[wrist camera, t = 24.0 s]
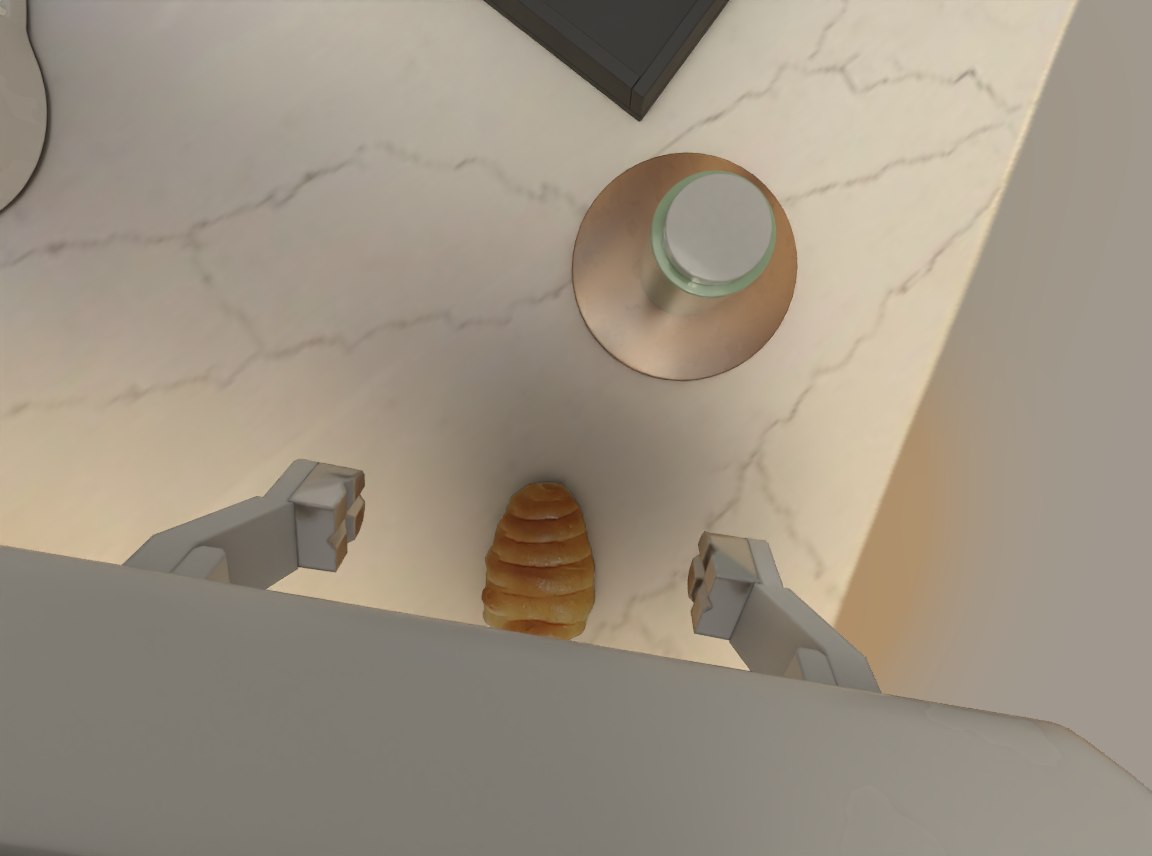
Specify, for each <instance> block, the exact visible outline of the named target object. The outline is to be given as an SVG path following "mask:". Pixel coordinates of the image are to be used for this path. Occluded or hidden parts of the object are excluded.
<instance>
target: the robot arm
mask: <svg viewBox="0 0 1152 856" xmlns="http://www.w3.org/2000/svg"><path fill="white" fill-rule="evenodd" d="M26 23H27V15H26V0H0V210H1V209H3V208H4V207H5V206H6V205H8V204H9V203H10V202H11V201H12V200H13V199H14V198H15V197H16V196H17V195H18V194H19V192H20V191H21V190H22V189H23V187H24V186H25V184H26V183H27V181H28V180H29V178H30V177H31V175H32V173H33V171H34V169H35V167H36V165H37V162H38V160H39V157H40V154H41V151H42V148H43V143H44V139H45V133H46V124H47V103H46V94H45V88H44V83H43V79H42V75H41V72H40V69H39V66H38V63H37V61H36V58H35V56H34V53H33V50H32V48H31V45H30V42H29V39H28V35H27V31H26ZM364 486H365V475H364V473H363V471H362V470H357V469H352V468H347V467H341V466H336V465H331V464H326V463H319V462H316V461H310V460H305V459H297V460H295V461H294V462H293V463H292V464H291V465H290V466H289V468H288V469H287V470H286V471H285V472H284V473H283V475H282V476H281V477H280V478H279V479H278V480H277V481H276V483H275V484H274V485H273V486H272V487H271V488H270V490H269V491H268V492H267V493H266V494H265V495H264V496H263V497H259V496H256V497H253V498H250V499H248V500H245V501H242V502H240V503H237V504H235V505H232V506H229V507H227V508H224V509H221V510H219V511H216V512H213V513H211V514H208V515H205V516H203V517H200V518H197V519H195V520H192V521H189V522H187V523H184V524H182V525H179V526H176V527H174V528H171V529H168V530H166V531H163V532H160V533H158V534H155V535H153V536H152V537H151V538H150V539H148V540H147V541H146V542H145V543H144V544H143V545H142V546H141V547H140V548H139V549H138V550H137V551H136V552H135V553H134V554H133V555H132V556H131V557H130V558H129V559H128V560H127V561H126V562H125V563H124V564H123V565H117V564H111V563H105V562H99V561H93V560H87V559H81V558H75V557H69V556H63V555H57V554H51V553H46V552H40V551H34V550H28V549H22V548H16V547H10V546H4V545H0V856H1152V791H1151V790H1150V789H1149V788H1148V787H1146V786H1145V785H1144V784H1143V783H1141V782H1140V781H1139V780H1138V779H1137V778H1135V777H1134V776H1133V775H1132V774H1131V773H1129V772H1128V771H1127V770H1125V769H1124V768H1123V767H1121V766H1120V765H1119V764H1117V763H1116V762H1115V761H1113V760H1112V759H1111V758H1109V757H1108V756H1107V755H1105V754H1104V753H1103V752H1101V751H1100V750H1099V749H1097V748H1096V747H1095V746H1093V745H1092V744H1091V743H1089V742H1088V741H1086V740H1085V739H1084V738H1082V737H1081V736H1079V735H1077V734H1076V733H1075V732H1073V731H1072V730H1070V729H1069V728H1066V727H1064V726H1061V725H1059V724H1056V723H1052V722H1049V721H1043V720H1038V719H1031V718H1026V717H1020V716H1014V715H1008V714H1002V713H996V712H990V711H984V710H978V709H972V708H966V707H960V706H954V705H948V704H942V703H936V702H930V701H924V700H918V699H912V698H906V697H900V696H893V695H888V694H882V693H881V691H880V689H879V686H878V684H877V681H876V679H875V677H874V675H873V672H872V670H871V668H870V665H869V663H868V661H867V659H866V657H864V655H863V654H862V653H860V652H859V651H858V650H857V649H856V648H855V647H854V646H853V645H852V644H850V643H849V642H848V641H847V640H846V639H845V638H844V637H843V636H841V635H840V634H839V633H838V632H837V631H836V630H835V629H834V628H833V627H831V626H830V625H829V624H828V623H827V622H826V621H825V620H824V619H823V618H821V617H820V616H819V615H818V614H817V613H816V612H815V611H814V610H813V609H811V608H810V607H809V606H808V605H807V604H806V603H805V602H804V601H802V600H801V599H800V598H799V597H798V596H797V595H796V594H795V593H794V592H792V591H791V590H790V589H787V588H784V587H783V584H782V581H781V579H780V576H779V573H778V570H777V567H776V564H775V561H774V558H773V555H772V553H771V550H770V547H769V544H768V543H767V542H766V541H764V540H758V539H751V538H740V537H734V536H728V535H722V534H717V533H711V532H705V531H704V532H703V534H702V535H701V538H700V540H699V543H698V547H699V553H700V554H699V555H697V556H696V557H694V558H693V560H692V563H691V566H690V569H689V575H688V595H689V598H690V599H691V600H692V601H693V602H694V604H693V607H692V609H691V616H692V623H693V629H694V633H695V634H700V635H705V636H710V637H715V638H720V639H725V640H730V641H729V642H730V644H731V645H732V646H733V648H734V649H735V650H736V652H737V653H738V654H739V656H740V657H741V659H742V660H743V661H744V663H745V664H746V665H747V667H748V668H749V669H750V671H746V670H740V669H734V668H728V667H722V666H716V665H711V664H705V663H699V662H693V661H687V660H681V659H675V658H669V657H663V656H657V655H651V654H645V653H639V652H633V651H627V650H621V649H615V648H609V647H603V646H598V645H592V644H586V643H580V642H574V641H568V640H562V639H556V638H550V637H544V636H538V635H532V634H526V633H520V632H514V631H508V630H503V629H497V628H491V627H485V626H479V625H473V624H467V623H461V622H455V621H449V620H443V619H437V618H431V617H425V616H419V615H414V614H408V613H402V612H396V611H390V610H384V609H378V608H372V607H366V606H360V605H354V604H348V603H342V602H336V601H331V600H325V599H319V598H313V597H307V596H301V595H295V594H289V593H283V592H277V591H271V590H265V589H267V588H268V587H270V586H272V585H273V584H275V583H276V582H278V581H279V580H281V579H283V578H284V577H286V576H287V575H289V574H290V573H292V572H294V571H295V570H297V569H298V567H302V568H309V569H316V570H323V571H330V572H336V571H337V569H338V568H339V566H340V564H341V563H342V561H343V559H344V557H345V556H346V554H347V543H349V542H351V541H353V540H355V538H356V536H357V535H358V533H359V531H360V528H361V525H362V522H363V517H364V511H365V501H364V499H363V498H362V497H361V495H360V493H361V491H362V490H363V488H364Z"/></svg>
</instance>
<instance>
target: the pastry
mask: <svg viewBox="0 0 1152 856" xmlns="http://www.w3.org/2000/svg"><path fill="white" fill-rule="evenodd" d="M485 563H486V567H487V572H486V586H485V588H484V589H483V592H482V601H483V603H484V605H485V609H484V611H483V618H484V620H485V622H486V623H487V624H488V625H489V626H490V627H491V628H497V629H503V630H508V631H514V632H520V633H526V634H532V635H538V636H544V637H550V638H556V639H562V640H570V639H572V638H573V637H575V636H578V635H580V634H581V633H582V632H583V630H584V629H585V625H586V620H587V616H588V614H589V613H590V611H591V609H592V607H593V604H594V601H595V590H594V570H595V565H594V560H593V557H592V552H591V547H590V545H589V542H588V537H587V532H586V525H585V522H584V519H583V515H582V512H581V509H580V507H579V505H578V504H577V502H576V501H575V500H574V498H573V496H572V494H571V493H570V492H569V491H568V490H567V489H566V488H565V487H564V486H563V485H561V484H557V483H551V482H544V483H533V484H529V485H527V486H526V487H524V488H523V489H521V490H520V491H519V492H517V493H516V494H514V495H513V496H512V497H511V499H510V501H509V504H508V506H507V509H506V512H505V514H504V516H503V517H502V519H501V520H500V522H499V524H498V526H497V529H496V533H495V539H494V542H493V545H492V547H491V549H490V550H489V551H488V553H487V555H486V557H485Z"/></svg>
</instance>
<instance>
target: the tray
mask: <svg viewBox="0 0 1152 856" xmlns="http://www.w3.org/2000/svg"><path fill="white" fill-rule="evenodd" d="M484 1H486V2H487V3H488V4H489V5H491V6H492V7H493V8H495V9H496V10H497V11H498V12H500V13H501V14H502V15H504V16H505V17H506V18H507V19H509V20H510V21H511V22H513V23H514V24H515V25H516V26H518V27H519V28H520V29H522V30H523V31H524V32H525V33H527V34H528V35H529V36H531V37H532V38H533V39H534V40H536V41H537V42H538V43H540V44H541V45H542V46H543V47H545V48H546V49H547V50H548V51H550V52H551V53H552V54H554V55H555V56H556V57H557V58H559V59H560V60H561V61H563V62H564V63H565V64H566V65H568V66H569V67H570V68H572V69H573V70H574V71H575V72H577V73H578V74H579V75H581V76H582V77H583V78H584V79H586V80H587V81H588V82H590V83H591V84H592V85H593V86H595V87H596V88H597V89H599V90H600V91H601V92H602V93H604V94H605V95H606V96H608V97H609V98H610V99H611V100H613V101H614V102H615V103H617V104H618V105H619V106H620V107H622V108H623V109H624V110H626V111H627V112H628V113H629V114H631V115H632V116H633V117H635V118H636V119H637V120H638V121H641V120H642V118H643V117H644V115H645V114H646V113H647V111H648V110H649V109H650V107H651V106H652V105H653V103H654V102H655V101H656V99H657V98H658V96H659V95H660V94H661V92H662V91H663V90H664V88H665V87H666V86H667V84H668V83H669V81H670V80H671V79H672V77H673V76H674V75H675V73H676V72H677V71H678V69H679V68H680V66H681V65H682V64H683V62H684V61H685V60H686V58H687V57H688V56H689V54H690V53H691V52H692V50H693V49H694V47H695V46H696V45H697V43H698V42H699V41H700V39H701V38H702V37H703V35H704V34H705V32H706V31H707V30H708V28H709V27H710V26H711V24H712V23H713V22H714V20H715V19H716V17H717V16H718V15H719V13H720V12H721V11H722V9H723V8H724V7H725V5H726V4H727V3H728V1H729V0H484Z"/></svg>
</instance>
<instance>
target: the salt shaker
mask: <svg viewBox="0 0 1152 856" xmlns="http://www.w3.org/2000/svg"><path fill="white" fill-rule="evenodd" d="M775 241H776V224H775V218H774V215H773V211H772V209H771V206H770V204H769V202H768V201H767V199H766V197H765V196H764V194H763V193H762V192H761V191H760V190H759V189H758V188H757V187H756V186H755V185H754V184H753V183H751V182H750V181H748V180H747V179H745V178H743V177H741V176H739V175H737V174H734V173H731V172H726V171H715V170H714V171H704V172H700V173H696V174H694V175H691V176H689V177H687V178H685V179H683V180H681V181H680V182H678V183H677V184H676V185H674V186H673V187H672V188H671V189H670V190H669V191H668V192H667V193H666V195H665V196H664V197H663V199H662V200H661V202H660V203H659V205H658V207H657V209H656V211H655V214H654V217H653V220H652V223H651V226H650V229H649V233H648V236H647V239H646V242H645V245H644V248H643V251H642V254H641V257H640V262H639V278H640V283H641V286H642V289H643V291H644V293H645V294H646V296H647V297H648V299H649V300H650V301H651V302H652V303H653V304H654V305H655V306H656V307H657V308H659V309H660V310H662V311H664V312H666V313H669V314H672V315H676V316H693V315H698V314H701V313H703V312H705V311H707V310H709V309H711V308H713V307H714V306H716V305H718V304H719V303H721V302H723V301H724V300H726V299H728V298H729V297H731V296H733V295H734V294H736V293H738V292H739V291H741V290H743V289H744V288H746V287H747V286H749V285H750V284H751V283H753V282H754V281H755V280H756V279H757V278H758V277H759V276H760V275H761V274H762V272H763V271H764V269H765V268H766V266H767V265H768V263H769V261H770V259H771V256H772V253H773V251H774V246H775Z"/></svg>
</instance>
